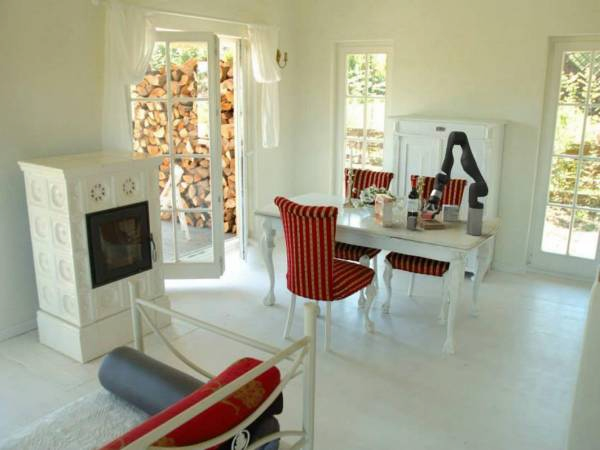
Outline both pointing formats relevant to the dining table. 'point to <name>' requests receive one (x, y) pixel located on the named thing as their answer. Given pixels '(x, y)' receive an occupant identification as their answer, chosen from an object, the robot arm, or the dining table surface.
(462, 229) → the dining table surface
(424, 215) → the red lid
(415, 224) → the grey tin
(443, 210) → the light bulb box
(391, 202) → the coffeecake box
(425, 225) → the walnut board
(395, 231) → the dining table surface
